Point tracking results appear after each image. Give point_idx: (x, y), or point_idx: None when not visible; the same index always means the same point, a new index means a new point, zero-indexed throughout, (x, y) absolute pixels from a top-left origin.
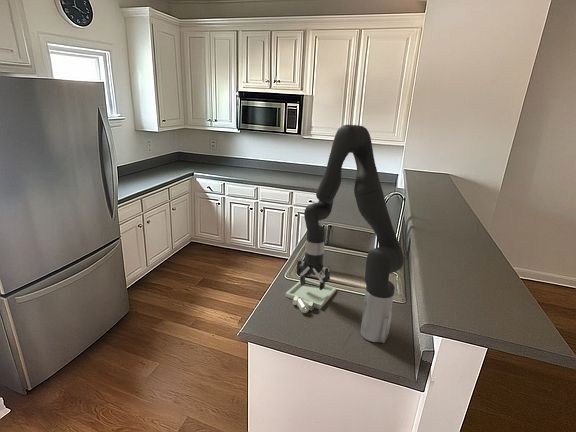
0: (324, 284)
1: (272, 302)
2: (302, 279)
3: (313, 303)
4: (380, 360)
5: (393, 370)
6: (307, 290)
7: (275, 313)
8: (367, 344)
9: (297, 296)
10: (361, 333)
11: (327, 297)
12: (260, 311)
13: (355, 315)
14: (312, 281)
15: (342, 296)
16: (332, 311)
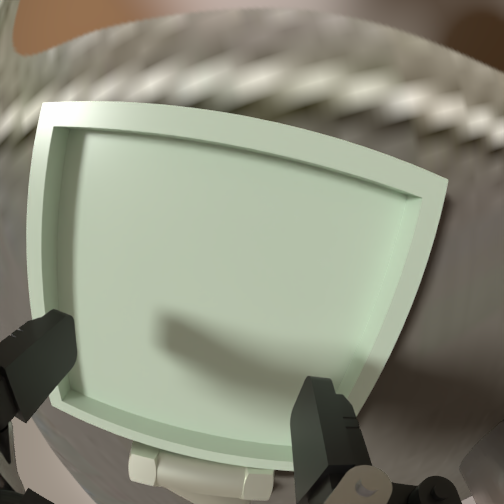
0: (358, 441)
1: (57, 427)
2: (40, 400)
3: (265, 471)
4: (461, 494)
5: (471, 495)
6: (145, 290)
7: (119, 483)
8: (457, 482)
9: (145, 483)
10: (460, 470)
11: (367, 391)
12: (72, 470)
13: (485, 398)
14: (137, 122)
15: (468, 235)
16: (385, 432)
